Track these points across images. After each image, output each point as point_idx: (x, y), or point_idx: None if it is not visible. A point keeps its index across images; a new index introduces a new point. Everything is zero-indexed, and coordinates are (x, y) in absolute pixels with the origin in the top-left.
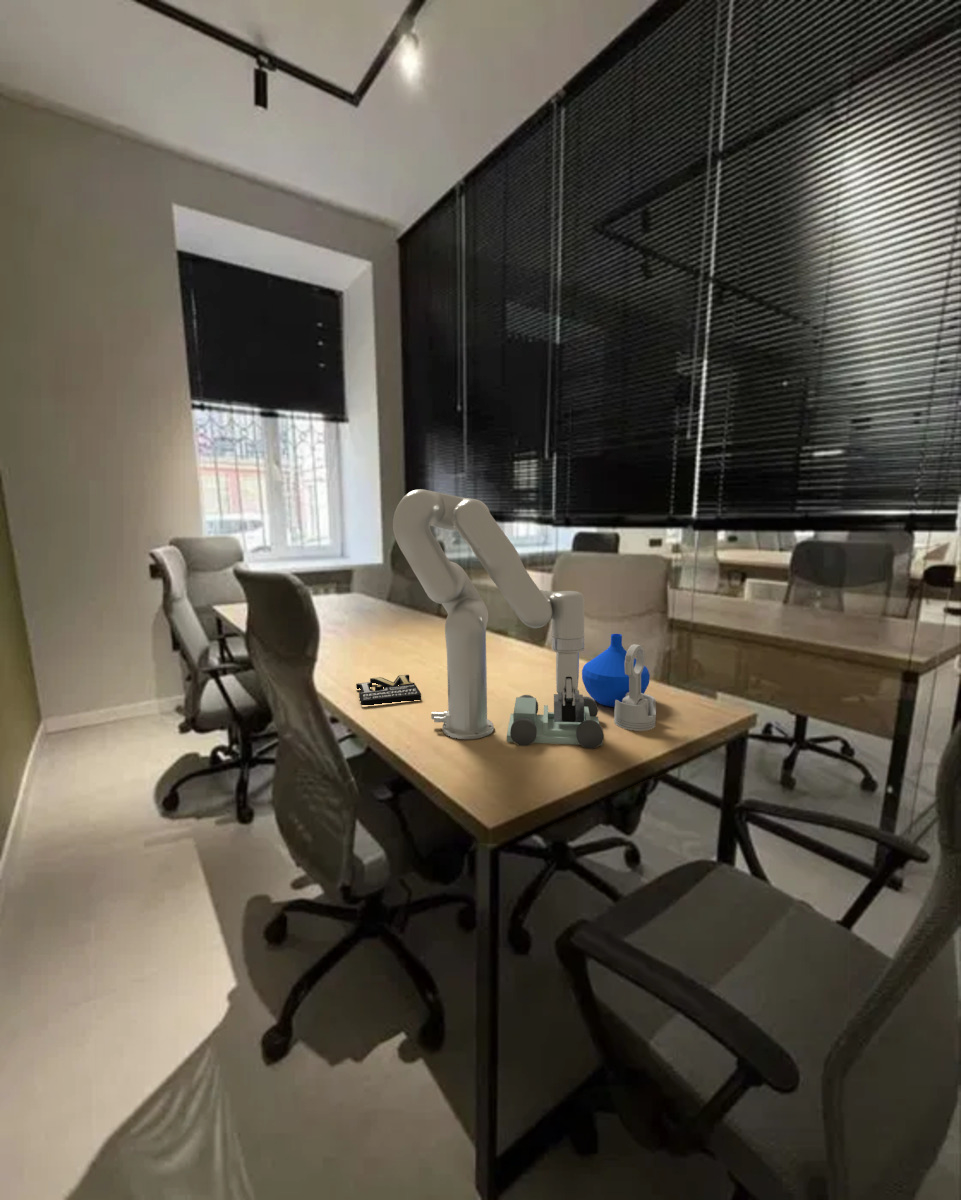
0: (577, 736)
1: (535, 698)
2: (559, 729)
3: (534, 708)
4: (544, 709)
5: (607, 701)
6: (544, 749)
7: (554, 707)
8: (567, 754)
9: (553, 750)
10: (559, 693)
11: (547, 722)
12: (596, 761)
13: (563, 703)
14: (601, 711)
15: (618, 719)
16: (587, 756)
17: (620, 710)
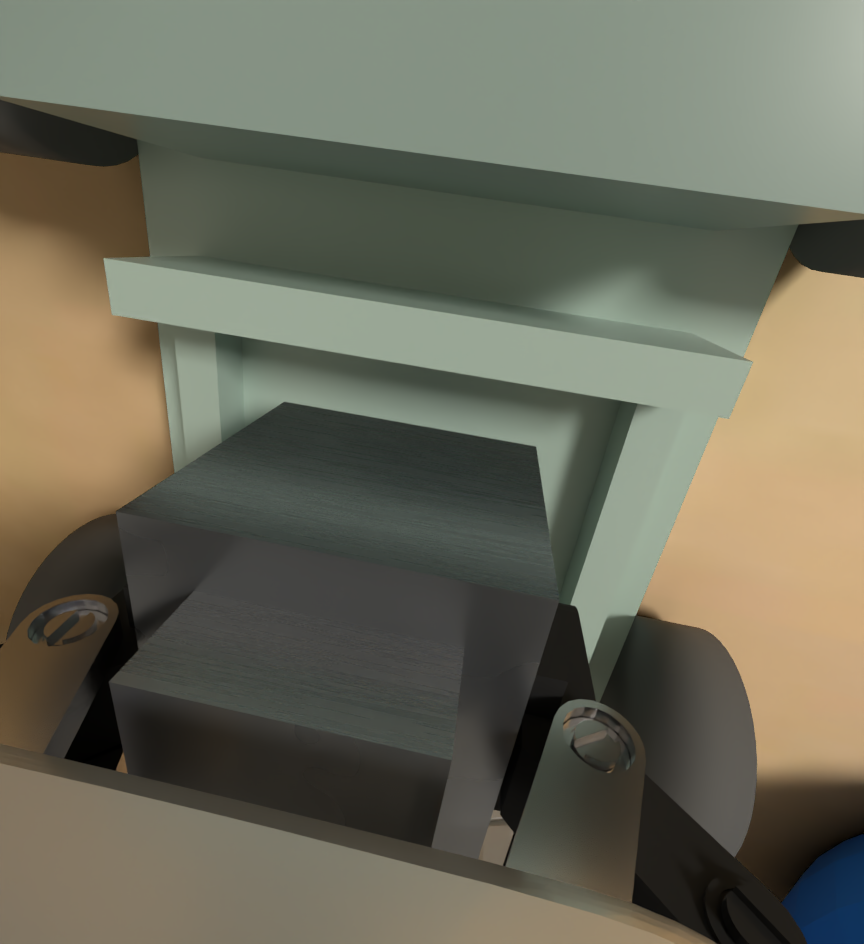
0: (87, 529)
1: (846, 197)
2: (206, 423)
3: (234, 110)
4: (571, 342)
5: (831, 884)
6: (75, 242)
7: (188, 474)
8: (45, 404)
9: (78, 316)
10: (181, 718)
11: (119, 313)
12: (12, 542)
13: (24, 631)
14: (775, 778)
15: (494, 817)
16: (57, 514)
17: None
